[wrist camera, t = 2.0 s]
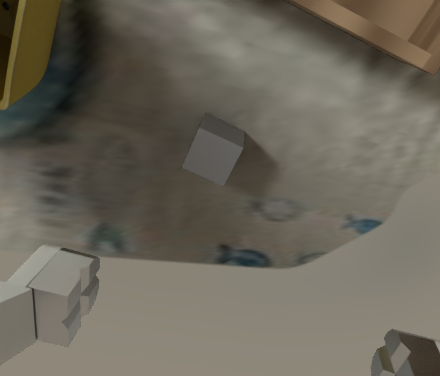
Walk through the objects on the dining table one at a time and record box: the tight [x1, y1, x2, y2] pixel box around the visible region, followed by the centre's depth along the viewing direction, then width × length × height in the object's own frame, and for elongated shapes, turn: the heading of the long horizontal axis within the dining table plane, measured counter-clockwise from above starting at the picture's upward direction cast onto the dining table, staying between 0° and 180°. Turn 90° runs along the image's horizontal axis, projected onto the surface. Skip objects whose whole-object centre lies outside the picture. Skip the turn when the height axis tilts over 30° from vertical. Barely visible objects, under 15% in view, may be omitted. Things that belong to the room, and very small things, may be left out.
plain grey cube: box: [181, 113, 245, 186], centre depth 32 cm, size 4×4×4 cm
